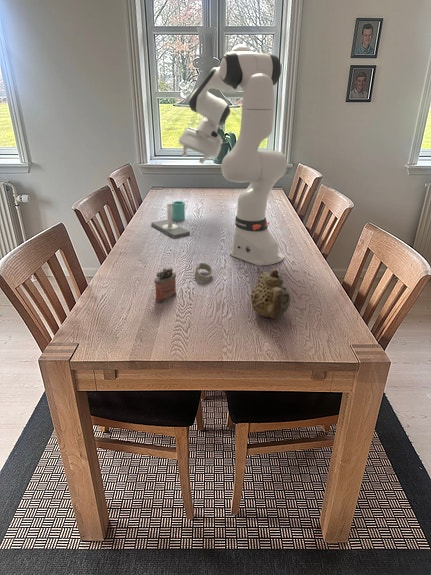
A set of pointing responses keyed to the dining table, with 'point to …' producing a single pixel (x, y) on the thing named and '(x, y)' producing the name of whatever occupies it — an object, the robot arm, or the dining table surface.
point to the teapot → (270, 295)
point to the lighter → (165, 285)
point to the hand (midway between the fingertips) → (192, 159)
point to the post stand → (170, 225)
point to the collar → (178, 210)
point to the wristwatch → (201, 277)
